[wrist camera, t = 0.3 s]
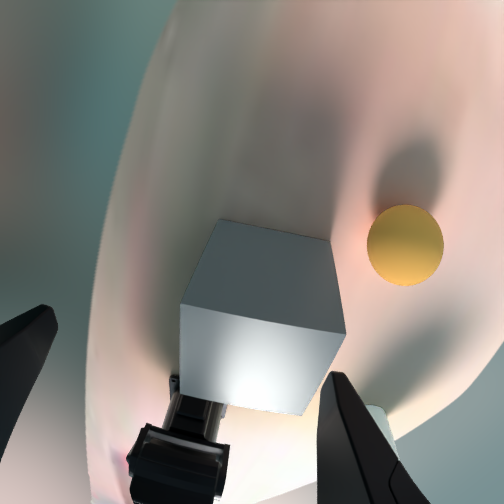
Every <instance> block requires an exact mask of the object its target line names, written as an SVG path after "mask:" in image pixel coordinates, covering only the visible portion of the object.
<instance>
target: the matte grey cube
mask: <svg viewBox="0 0 504 504" xmlns="http://www.w3.org/2000/svg"><path fill="white" fill-rule="evenodd" d="M345 336H346V329H345V322H344V316H343V309H342V303H341V297H340V291H339V285H338V280H337V274H336V269H335V263H334V258H333V253H332V248H331V243H330V241H325V240H321V239H316V238H311V237H306V236H301V235H297V234H292V233H287V232H282V231H277V230H272V229H267V228H262V227H257V226H252V225H247V224H242V223H236V222H231V221H226V220H221V219H219V220H218V222H217V224H216V226H215V228H214V230H213V232H212V235H211V237H210V239H209V241H208V243H207V245H206V247H205V250H204V252H203V254H202V256H201V258H200V260H199V263H198V265H197V267H196V269H195V271H194V274H193V276H192V278H191V280H190V283H189V285H188V287H187V289H186V291H185V294H184V296H183V298H182V300H181V303H180V394H184V395H188V396H192V397H196V398H201V399H205V400H210V401H214V402H219V403H224V404H229V405H234V406H239V407H245V408H251V409H257V410H263V411H269V412H276V413H283V414H291V415H299V416H302V414H303V413H304V411H305V409H306V408H307V406H308V404H309V403H310V401H311V399H312V397H313V396H314V394H315V392H316V391H317V389H318V387H319V385H320V383H321V382H322V380H323V378H324V376H325V374H326V373H327V371H328V369H329V367H330V365H331V363H332V361H333V360H334V358H335V356H336V354H337V352H338V350H339V348H340V346H341V344H342V342H343V340H344V338H345Z"/></svg>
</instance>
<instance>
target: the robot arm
mask: <svg viewBox="0 0 504 504" xmlns="http://www.w3.org/2000/svg"><path fill="white" fill-rule="evenodd" d="M57 331H58V323H57V320H56V316H55V313H54V310H53V308H52V307H50V306H48V305H44V304H41V305H39V306H37V307H35V308H33V309H31V310H29V311H27V312H25V313H23V314H21V315H19V316H17V317H15V318H13V319H11V320H9V321H7V322H5V323H3V324H1V325H0V462H1V458H2V456H3V454H4V451H5V448H6V446H7V443H8V441H9V438H10V436H11V433H12V431H13V429H14V426H15V424H16V422H17V419H18V417H19V415H20V413H21V411H22V408H23V406H24V404H25V402H26V400H27V398H28V396H29V394H30V391H31V389H32V387H33V385H34V383H35V381H36V379H37V377H38V375H39V373H40V371H41V369H42V367H43V365H44V362H45V360H46V357H47V355H48V353H49V350H50V348H51V345H52V342H53V340H54V338H55V336H56V333H57ZM169 386H170V404H169V407H168V410H167V413H166V416H165V419H164V423H163V426H162V428H159V427H156V426H152V424H149V423H146V425H145V427H144V428H141V430H140V433H139V436H138V438H137V441H136V442H135V444H134V446H133V447H132V449H131V450H130V452H129V453H128V455H127V457H126V461H127V462H128V464H129V476H131V477H132V481H131V485H130V494H131V497H132V500H133V503H134V504H213V501H214V499H216V500H220V499H221V496H222V493H223V489H224V485H225V480H226V474H227V466H228V458H229V450H230V445H228V444H225V445H224V444H220V443H216V438H217V434H218V429H219V424H220V419H221V418H224V417H225V413H226V408H227V404H224V403H219V402H214V401H210V400H205V399H201V398H196V397H192V396H188V395H184V394H180V377H179V376H175V375H171V376H170V379H169ZM317 504H430V502H429V501H428V500H427V499H426V497H425V496H424V495H423V494H422V492H421V491H420V490H419V488H418V487H417V486H416V484H415V483H414V482H413V480H412V479H411V477H410V476H409V474H408V473H407V471H406V470H405V468H404V466H403V465H402V463H401V462H400V460H398V457H397V455H396V454H395V452H394V451H393V449H392V447H391V446H390V444H389V443H388V441H387V439H386V438H385V436H384V435H383V433H382V431H381V430H380V428H379V427H378V425H377V424H376V422H375V420H374V419H373V417H372V416H371V414H370V412H369V411H368V409H367V408H366V406H365V405H364V403H363V401H362V400H361V398H360V397H359V395H358V394H357V392H356V390H355V389H354V387H353V386H352V384H351V383H350V381H349V379H348V378H347V376H346V375H345V374H344V373H343V372H337V371H331V372H330V373H329V375H328V376H327V378H326V380H325V382H324V384H323V386H322V388H321V393H320V405H319V416H318V427H317Z"/></svg>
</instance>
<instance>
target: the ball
mask: <svg viewBox="0 0 504 504" xmlns="http://www.w3.org/2000/svg"><path fill="white" fill-rule="evenodd" d="M443 249H444V242H443V236H442V232H441V229H440V227H439V225H438V223H437V222H436V220H435V219H434V218H433V217H432V216H431V215H430V214H429V213H428V212H427V211H425V210H423V209H421V208H419V207H417V206H413V205H397V206H394V207H391V208H389V209H387V210H385V211H384V212H382V213H381V214H380V215H379V216H378V217H377V218H376V220H375V221H374V222H373V224H372V226H371V228H370V230H369V234H368V238H367V252H368V256H369V260H370V262H371V264H372V266H373V268H374V269H375V271H376V272H377V273H378V274H379V275H380V276H381V277H382V278H384V279H385V280H386V281H388V282H390V283H393V284H396V285H401V286H411V285H415V284H418V283H421V282H423V281H424V280H426V279H427V278H429V277H430V276H431V275H432V274H433V273H434V272H435V270H436V269H437V268H438V266H439V264H440V261H441V259H442V255H443Z"/></svg>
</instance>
